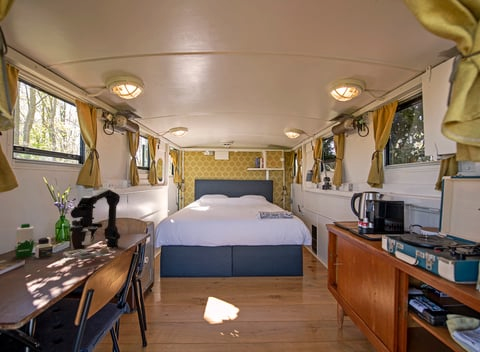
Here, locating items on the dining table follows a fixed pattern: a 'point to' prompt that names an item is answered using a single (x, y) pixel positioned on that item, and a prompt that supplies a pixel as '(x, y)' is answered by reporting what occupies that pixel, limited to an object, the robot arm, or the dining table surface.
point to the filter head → (92, 254)
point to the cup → (77, 241)
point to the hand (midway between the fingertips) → (86, 240)
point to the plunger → (104, 248)
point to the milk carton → (24, 241)
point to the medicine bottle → (44, 248)
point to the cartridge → (87, 238)
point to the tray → (74, 252)
